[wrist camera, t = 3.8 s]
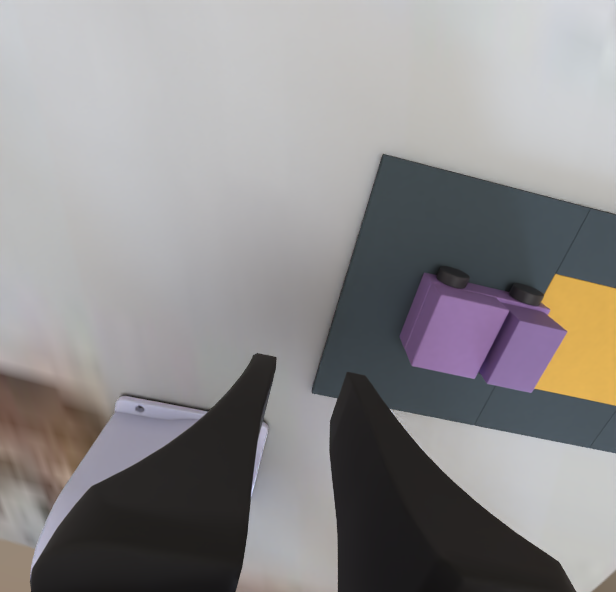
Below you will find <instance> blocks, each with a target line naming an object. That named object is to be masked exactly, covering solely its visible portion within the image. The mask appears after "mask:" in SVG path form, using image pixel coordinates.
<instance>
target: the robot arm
mask: <svg viewBox="0 0 616 592" xmlns="http://www.w3.org/2000/svg"><path fill="white" fill-rule="evenodd" d="M275 370H276V357H273V356H268V355H263V354H259V353H257V354H255V355H253V357H252V359H251V361H250V363H249V365H248V366H247V368H246V369H245V371H244V372H243V374H242V375H241V376H240V378H239V379H238V380H237V381H236V383H235V384H234V385H233V386H232V387H231V389H230V390H229V391H228V392H227V393H226V394H225V395H224V396H223V397H222V398H221V399H220V400H219V401H218V402H217V404H216V405H215V406H214V407H213V408H211V409H210V410H209V411H203V410H198V409H192V408H187V407H182V406H176V405H171V404H166V403H161V402H155V401H150V400H145V399H139V398H134V397H129V396H121V397H119V398H118V399H117V401H116V403H115V412H114V414H113V415H112V417H111V418H110V420H109V421H108V423H107V424H106V426H105V427H104V429H103V430H102V431H101V433H100V434H99V436H98V437H97V439H96V440H95V442H94V443H93V445H92V446H91V448H90V449H89V451H88V452H87V454H86V455H85V457H84V458H83V460H82V461H81V463H80V464H79V466H78V467H77V469H76V470H75V472H74V473H73V475H72V476H71V478H70V479H69V481H68V482H67V483H66V485H65V486H64V488H63V490H62V491H61V493H60V495H59V496H58V498H57V500H56V502H55V504H54V506H53V508H52V510H51V512H50V514H49V516H48V518H47V520H46V522H45V525H44V527H43V529H42V532H41V534H40V537H39V540H38V543H37V546H36V549H35V553H34V557H33V561H32V567H31V575H30V584H31V592H235V591H236V588H237V584H238V580H239V577H240V573H241V569H242V565H243V559H244V553H245V546H246V539H247V533H248V521H249V511H250V501H251V496H252V492H253V489H254V485H255V481H256V477H257V473H258V469H259V465H260V461H261V458H262V454H263V450H264V446H265V442H266V438H267V434H268V425H267V424H266V423H265V422H263V418H264V414H265V410H266V406H267V402H268V398H269V394H270V390H271V386H272V382H273V378H274V374H275ZM139 406H142V407H143V408H140V407H139ZM330 461H331V471H332V481H333V490H334V500H335V509H336V519H337V533H338V592H576V591H575V589H574V587H573V585H572V584H571V582H570V580H569V578H568V576H567V575H566V573H565V571H564V569H563V568H562V566H561V564H560V563H559V562H558V561H557V560H555V559H554V558H552V557H551V556H550V555H548V554H547V553H545V552H544V551H542V550H541V549H539V548H538V547H536V546H535V545H533V544H532V543H530V542H529V541H527V540H526V539H524V538H523V537H522V536H520V535H519V534H517V533H516V532H514V531H513V530H512V529H510V528H509V527H508V526H506V525H505V524H504V523H502V522H501V521H500V520H499V519H497V518H496V517H495V516H493V515H492V514H491V513H489V512H488V511H487V510H486V509H484V508H483V507H482V506H481V505H480V504H478V503H477V502H476V501H475V500H474V499H472V498H471V497H470V496H469V495H468V494H467V493H466V492H464V491H463V490H462V489H461V488H460V487H459V486H458V485H457V484H455V483H454V482H453V481H452V480H451V479H450V478H449V477H448V476H447V475H446V474H445V473H444V472H443V471H442V470H441V469H440V468H439V467H438V466H437V465H436V464H435V463H434V462H433V461H432V460H431V459H430V458H429V457H428V456H427V455H426V454H425V452H424V451H423V450H422V449H421V448H420V447H419V446H418V445H417V443H416V442H415V441H414V440H413V439H412V437H411V436H410V435H409V434H408V433H407V431H406V430H405V429H404V428H403V426H402V425H401V424H400V423H399V421H398V420H397V419H396V417H395V416H394V415H393V413H392V412H391V411H390V409H389V408H388V406H387V405H386V404H385V402H384V401H383V399H382V398H381V397H380V395H379V394H378V392H377V391H376V389H375V388H374V387H373V385H372V384H371V382H370V381H369V379H368V378H367V377H366V375H361V374H356V373H351V372H347V373H346V376H345V379H344V382H343V385H342V388H341V391H340V393H339V396H338V399H337V402H336V405H335V408H334V411H333V414H332V417H331V420H330Z"/></svg>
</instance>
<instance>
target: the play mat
mask: <svg viewBox="0 0 616 592" xmlns="http://www.w3.org/2000/svg"><path fill="white" fill-rule="evenodd" d="M442 266H447V267H452V268H455V269H458V270H461V271H463V272H465V273H466V274H468V275H469V276H470V279H469V281H468V283H472V284H476V285H481V286H485V287H489V288H494V289H498V290H502V291H506V292H510V290H511V288H512V286H513V284H515V283H519V284H524V285H527V286H530V287H533V288H535V289H537V290H539V291H540V292H542V293H543V294H544V298H543V300H542V301H541V303H543V304H544V305H545V306H546V307H548V308H549V309H550V312H549V314H548V316H549V317H550V318H552V319H553V320H554V321H555V322H557V323H558V324H559V325H560V326H561V327H563V328H564V329H565V330H566V331H567V334H566V335H565V337H564V339H563V340H562V342H561V344H560V346H559V347H558V349H557V351H556V352H555V354H554V356H553V357H552V359H551V361H550V362H549V364H548V366H547V368H546V369H545V371H544V373H543V374H542V376H541V378H540V379H539V381H538V383H537V384H536V386H535V388H534V389H533V391H532V393H529V392H525V391H520V390H515V389H510V388H506V387H501V386H496V385H491V384H487V383H486V382H485V380H484V379H483V377H482V376H481V375H480V374H479V373H478V374H477V376H476V378H475V379H472V378H467V377H463V376H458V375H453V374H448V373H444V372H439V371H434V370H429V369H424V368H420V367H415V366H412V365H411V363H410V361H409V359H408V357H407V355H406V351H405V349H404V347H403V344H402V342H401V339H400V337H399V336H400V333H401V331H402V328H403V326H404V323H405V321H406V318H407V315H408V313H409V310H410V308H411V305H412V303H413V300H414V297H415V295H416V292H417V290H418V287H419V285H420V282H421V279H422V277H423V274H424V273H429V274H434V275H437V274H438V271H439V269H440V267H442ZM347 372H351V373H356V374H361V375H366V377H367V378H368V379H369V381H370V382H371V384H372V385H373V387H374V388H375V389H376V391H377V392H378V394H379V395H380V397H381V398H382V399H383V401H384V402H385V404H386V405H387V406H388V408H389V409H394V410H399V411H404V412H410V413H415V414H420V415H425V416H430V417H435V418H440V419H445V420H450V421H455V422H460V423H465V424H470V425H475V426H480V427H485V428H490V429H496V430H501V431H506V432H511V433H516V434H521V435H526V436H531V437H536V438H541V439H546V440H551V441H556V442H561V443H566V444H571V445H576V446H582V447H587V448H592V449H597V450H602V451H607V452H612V453H616V214H612V213H608V212H604V211H600V210H596V209H593V208H589V207H585V206H581V205H577V204H573V203H570V202H566V201H562V200H558V199H554V198H550V197H546V196H543V195H539V194H535V193H531V192H527V191H523V190H520V189H516V188H512V187H508V186H504V185H500V184H497V183H493V182H489V181H485V180H481V179H477V178H474V177H470V176H466V175H462V174H458V173H454V172H451V171H447V170H443V169H439V168H435V167H431V166H428V165H424V164H420V163H416V162H412V161H408V160H405V159H401V158H397V157H393V156H389V155H385V154H383V155H382V159H381V162H380V165H379V169H378V172H377V175H376V179H375V182H374V185H373V189H372V192H371V195H370V198H369V202H368V205H367V208H366V212H365V215H364V218H363V222H362V225H361V228H360V232H359V235H358V238H357V242H356V245H355V248H354V252H353V255H352V258H351V262H350V265H349V268H348V271H347V275H346V278H345V281H344V285H343V288H342V291H341V295H340V298H339V301H338V305H337V308H336V311H335V315H334V318H333V321H332V325H331V328H330V331H329V335H328V338H327V341H326V345H325V348H324V351H323V354H322V358H321V361H320V364H319V368H318V371H317V374H316V378H315V381H314V384H313V388H312V393H313V394H318V395H324V396H329V397H334V398H338V396H339V393H340V391H341V388H342V385H343V382H344V379H345V376H346V373H347Z"/></svg>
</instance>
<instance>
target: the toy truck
mask: <svg viewBox="0 0 616 592" xmlns="http://www.w3.org/2000/svg"><path fill="white" fill-rule="evenodd" d="M469 279H470V276H469V275H468V274H466V273H465V272H463V271H461V270H458V269H455V268H452V267H447V266H442V267H440V269H439V271H438V274H437V275H434V274H429V273H424V274H423V277H422V279H421V282H420V285H419V287H418V290H417V292H416V295H415V297H414V300H413V303H412V305H411V308H410V310H409V313H408V315H407V318H406V321H405V323H404V326H403V328H402V331H401V333H400V336H399V337H400V339H401V342H402V344H403V347H404V349H405V351H406V355H407V357H408V359H409V361H410V363H411V365H412V366H415V367H420V368H424V369H429V370H434V371H439V372H444V373H448V374H453V375H458V376H463V377H467V378H472V379H475V378H476V376H477V374H478V373H479V374H480V375H481V376H482V377H483V379H484V380H485V382H486V383H487V384H491V385H496V386H501V387H506V388H510V389H515V390H520V391H525V392H529V393H532V391H533V389H534V388H535V386H536V384H537V383H538V381H539V379H540V378H541V376H542V374H543V373H544V371H545V369H546V368H547V366H548V364H549V362H550V361H551V359H552V357H553V356H554V354H555V352H556V351H557V349H558V347H559V346H560V344H561V342H562V340H563V339H564V337H565V335H566V334H567V331H566V330H565V329H564V328H563V327H561V326H560V325H559V324H558V323H557V322H555V321H554V320H553V319H552V318H550V317H549V316H548V314H549V312H550V309H549V308H548V307H546V306H545V305H544V304H543V303H541V301H542V300H543V298H544V294H543V293H542V292H540V291H539V290H537V289H535V288H533V287H530V286H527V285H524V284H519V283H515V284H513V286H512V288H511V290H510V292H506V291H502V290H498V289H494V288H489V287H485V286H481V285H476V284H472V283H468V281H469Z"/></svg>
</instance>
